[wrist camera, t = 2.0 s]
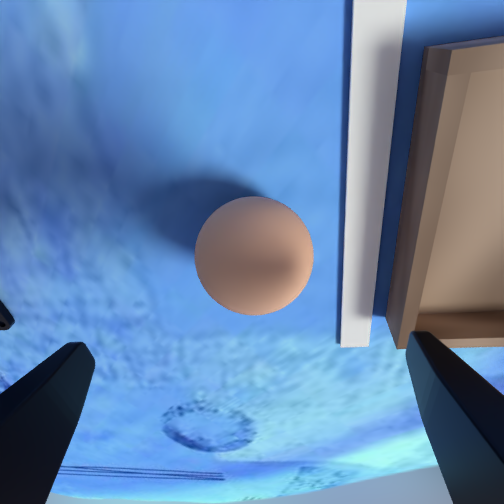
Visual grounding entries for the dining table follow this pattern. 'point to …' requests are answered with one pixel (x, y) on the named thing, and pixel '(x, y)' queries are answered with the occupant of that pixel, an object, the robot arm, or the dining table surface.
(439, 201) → the tray
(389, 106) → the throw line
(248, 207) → the ball
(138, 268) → the dining table surface
